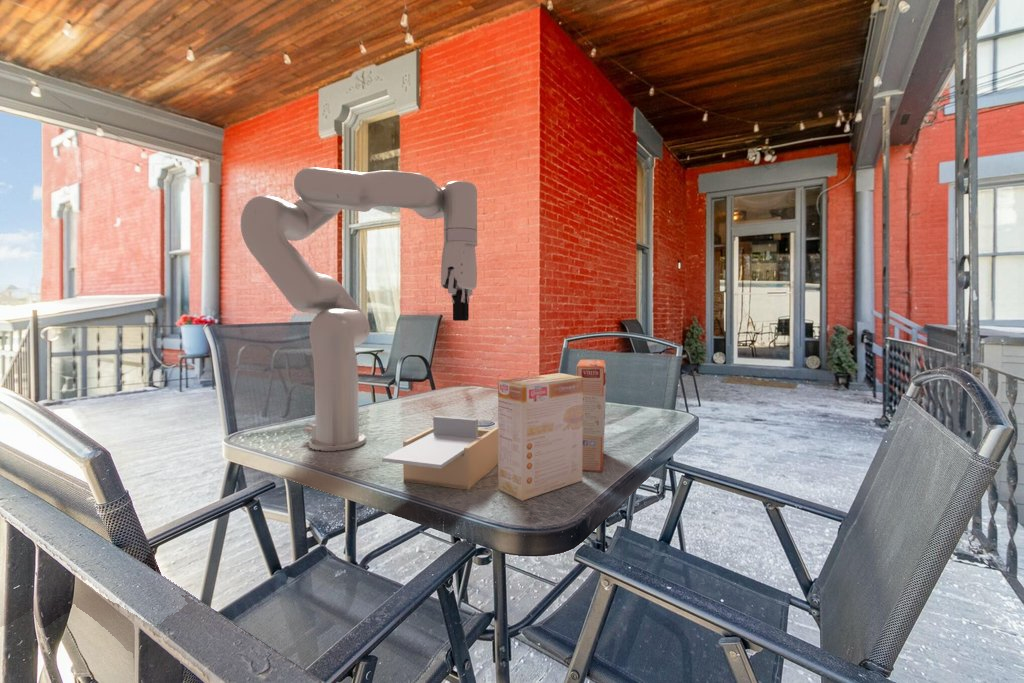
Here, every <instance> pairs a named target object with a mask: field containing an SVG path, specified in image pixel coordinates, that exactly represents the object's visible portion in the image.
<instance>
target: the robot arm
mask: <svg viewBox="0 0 1024 683" xmlns="http://www.w3.org/2000/svg"><path fill="white" fill-rule="evenodd" d="M293 189H294V191H295V193H296V195H297V196H298V198H299V199H298V200H297V201H296V202H294V203H290V202H288V201H286V200H284V199H282V198H279V197H276V196H271V195H257V196H255V197H252V198H251V199H250V200H248V201H247V203H246V204H245V205H244V207H243V210H242V213H241V217H240V232H241V236H242V239H243V241H244V244H245V245H246V247H247V249H248V251H249V252H250V254H251V255H252V256H253V257H254V259H255V260H256V261H257V262H258V264H259V265H260V266H261V267H262V269H263V270H264V272H266V273H267V275H268V276H269V278H270V279H271V281H272V282H273V283H274V285H275V286H276V287H277V288H278V290H279V291H280V292H281V293H282V295H283V296H284V297H285V299H286V300H287V302H288V303H289V305H291V306H292V307H293V308H294V309H296V310H297V311H298V312H301V313H308V314H309V313H311V314H312V313H313V314H314V313H315V314H316V315H315V316H314V317H313V319H312V320H311V323H310V326H309V330H308V331H309V333H308V334H309V341H310V346H311V351H312V359H313V374H314V375H313V377H314V378H313V379H314V416H315V417H314V418H315V423H313V422H312V423H311V422H310V423H308V424H307V426H306V427H304V429H303V433H305V434H311V438H310V440H308V447H309V448H310V449H311V448H312V450H314V449H315V450H314V451H319V450H321V451H322V452H336V450H338V451H344V450H350V449H354V448H357V447H361V446H362V445H364V444H365V443H366V442H367V436H366V435H365V434H363V433H360V420H359V419H360V413H359V412H360V411H359V408H360V406H359V405H360V404H359V372H358V371H359V370H358V368H359V367H358V359H357V352H356V349H355V348H356V347H357V346H360V345H362V344H363V343H364V342H366V341H367V339H368V337H369V335H370V333H371V327H370V326H371V325H370V323H369V320H368V317H367V316H366V315H365V313H364V312H363V310H362V309H361V308H360V306H359V305H358V304H357V302H356V301H355V300H354V298H353V297H352V296H351V295H350V294H349V293H348V291H347V290H346V289H345V288H344V286H343V285H342V284H341V283H340V282H339V281H338V280H337V279H335V278H334V277H332V276H330V275H328V274H322V273H319V272H317V271H315V270H314V269H313V267H311V265H310V264H309V263H308V262H307V261H306V259H305V258H304V257H303V255H302V254H301V253H300V251H299V250H298V249H297V248H296V247H295V246H293V244H292V243H290V241H292V242H293V241H294V242H298V241H302V240H304V239H306V238H308V237H309V236H311V235H312V234H313V233H316V231H317V230H319V229H320V228H322V227H323V226H324V225H326V223H328V222H329V221H332V219H334V218H335V217H336V215H338V214H339V213H340V212H341V211H342V210H344V211H345V210H347V211H352V212H353V211H354V212H363V213H364V212H365V213H366V212H369V211H371V210H372V209H373V208H375V207H376V208H377V207H392V208H401V209H408V210H409V209H410V210H412V211H414V213H416V214H417V215H418V216H419V217H420V218H423V219H427V220H438V219H442V218H443V246H442V256H441V265H440V269H441V270H440V286H441V287H442V288H443V289H446V290H447V293H448V294H449V295H450V296H451V303H452V320H453V321H454V322H468V321H469V319H470V317H469V316H470V312H469V310H470V308H469V307H470V306H469V305H470V297H471V296H472V295H473V290H475V289H476V288H477V283H478V269H477V268H478V266H477V265H478V264H477V254H476V247H478V188H477V187H476V185H475V184H474V183H472V182H469V181H466V180H453V181H449V182H447V183H446V184H445V185H444V187H441V186H438V184H437V183H436V182H434V180H433V179H432V178H430V177H429V176H427V175H424V174H421V173H416V172H408V171H401V170H400V171H399V170H390V169H389V170H376V171H369V172H361V171H360V172H359V171H351V170H343V169H334V168H325V167H314V166H312V167H311V166H310V167H304V168H302V169H300V170H299V171H298V172H297V173H296V174H295V176H294V180H293ZM321 451H320V452H321Z"/></svg>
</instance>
